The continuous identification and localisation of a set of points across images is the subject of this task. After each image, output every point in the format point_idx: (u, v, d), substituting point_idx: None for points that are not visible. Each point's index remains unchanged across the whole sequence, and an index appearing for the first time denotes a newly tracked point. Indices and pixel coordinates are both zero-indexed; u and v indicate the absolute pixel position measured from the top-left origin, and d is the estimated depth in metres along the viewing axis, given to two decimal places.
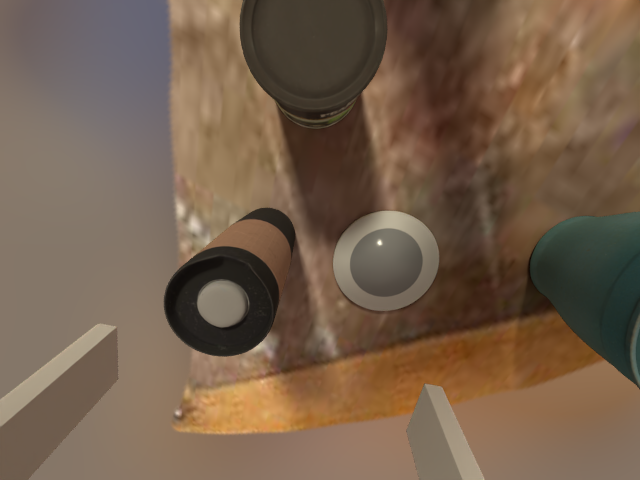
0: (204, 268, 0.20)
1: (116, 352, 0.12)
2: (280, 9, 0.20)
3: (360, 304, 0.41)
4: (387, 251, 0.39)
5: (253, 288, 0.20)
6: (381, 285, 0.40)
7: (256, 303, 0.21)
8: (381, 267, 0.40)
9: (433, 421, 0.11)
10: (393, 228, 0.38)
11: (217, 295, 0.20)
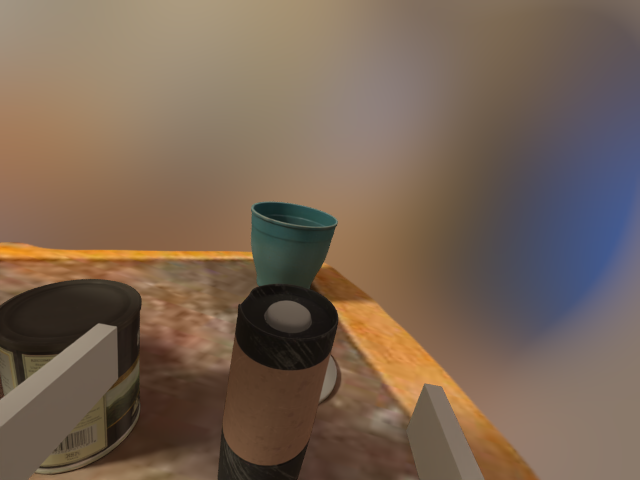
0: (252, 322, 0.21)
1: (116, 353, 0.12)
2: (37, 321, 0.24)
3: (333, 383, 0.42)
4: None
5: (273, 300, 0.24)
6: None
7: (287, 301, 0.25)
8: None
9: (433, 421, 0.11)
10: None
11: (277, 310, 0.22)
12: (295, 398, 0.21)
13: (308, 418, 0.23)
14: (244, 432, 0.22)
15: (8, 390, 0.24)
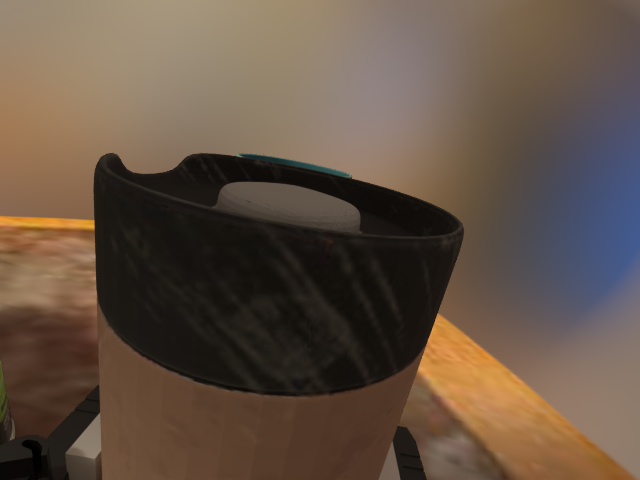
0: None
1: None
2: None
3: None
4: None
5: None
6: None
7: None
8: None
9: None
10: None
11: (252, 187, 0.07)
12: None
13: None
14: None
15: None
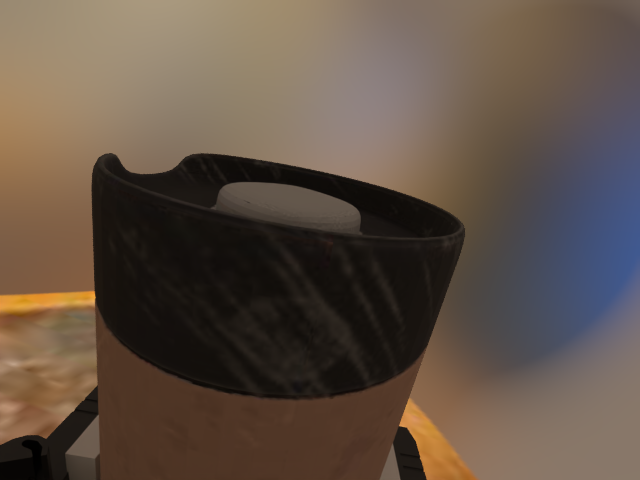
0: None
1: None
2: None
3: None
4: None
5: None
6: None
7: None
8: None
9: None
10: None
11: (252, 187, 0.07)
12: None
13: None
14: None
15: None
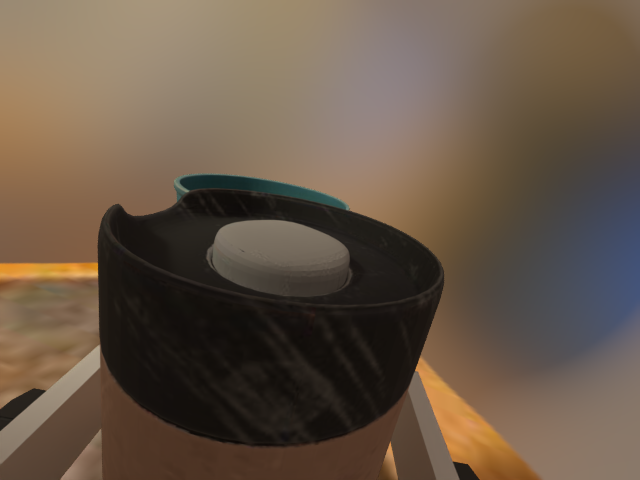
0: (155, 261, 0.06)
1: None
2: None
3: None
4: None
5: None
6: None
7: None
8: None
9: (407, 403, 0.12)
10: None
11: (247, 231, 0.07)
12: None
13: None
14: None
15: None
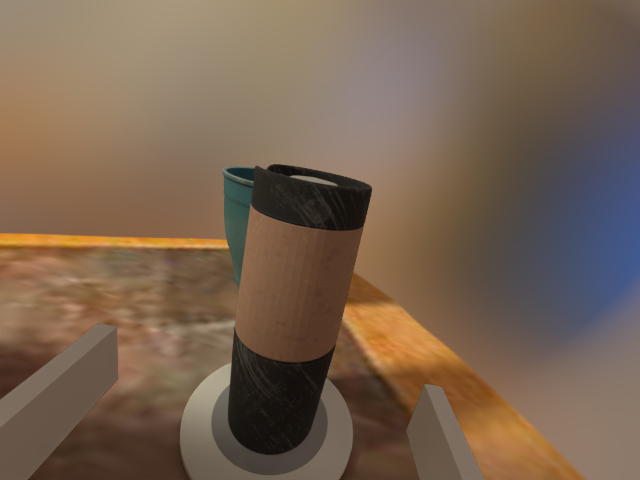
0: None
1: (116, 353, 0.12)
2: None
3: (348, 452, 0.23)
4: None
5: None
6: None
7: None
8: None
9: (433, 421, 0.11)
10: (214, 406, 0.25)
11: (299, 177, 0.19)
12: (324, 271, 0.17)
13: (336, 307, 0.19)
14: (262, 319, 0.18)
15: None
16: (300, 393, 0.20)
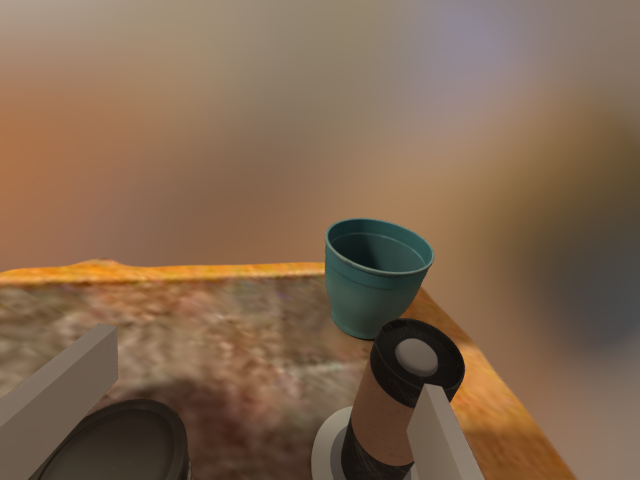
0: (387, 362, 0.25)
1: (116, 353, 0.12)
2: None
3: None
4: None
5: (400, 335, 0.27)
6: None
7: (412, 336, 0.28)
8: None
9: (433, 421, 0.11)
10: (331, 450, 0.36)
11: (407, 351, 0.25)
12: None
13: None
14: (375, 440, 0.27)
15: None
16: (396, 477, 0.29)
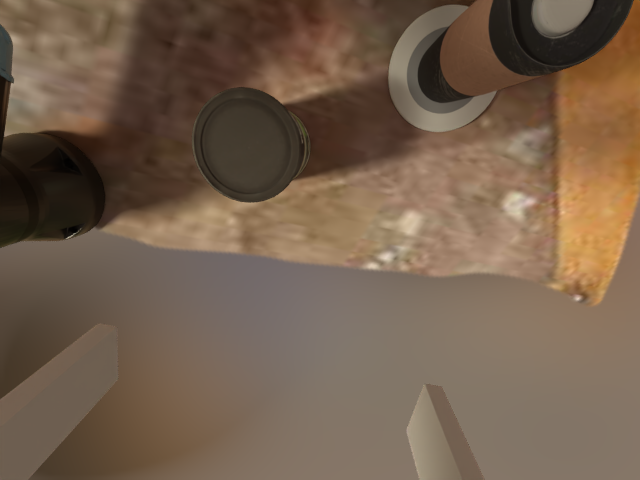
0: (516, 22, 0.19)
1: (116, 353, 0.12)
2: (233, 172, 0.29)
3: (489, 100, 0.38)
4: None
5: None
6: None
7: None
8: None
9: (433, 421, 0.11)
10: (408, 65, 0.37)
11: (552, 2, 0.18)
12: (523, 81, 0.24)
13: None
14: (464, 83, 0.27)
15: None
16: None
